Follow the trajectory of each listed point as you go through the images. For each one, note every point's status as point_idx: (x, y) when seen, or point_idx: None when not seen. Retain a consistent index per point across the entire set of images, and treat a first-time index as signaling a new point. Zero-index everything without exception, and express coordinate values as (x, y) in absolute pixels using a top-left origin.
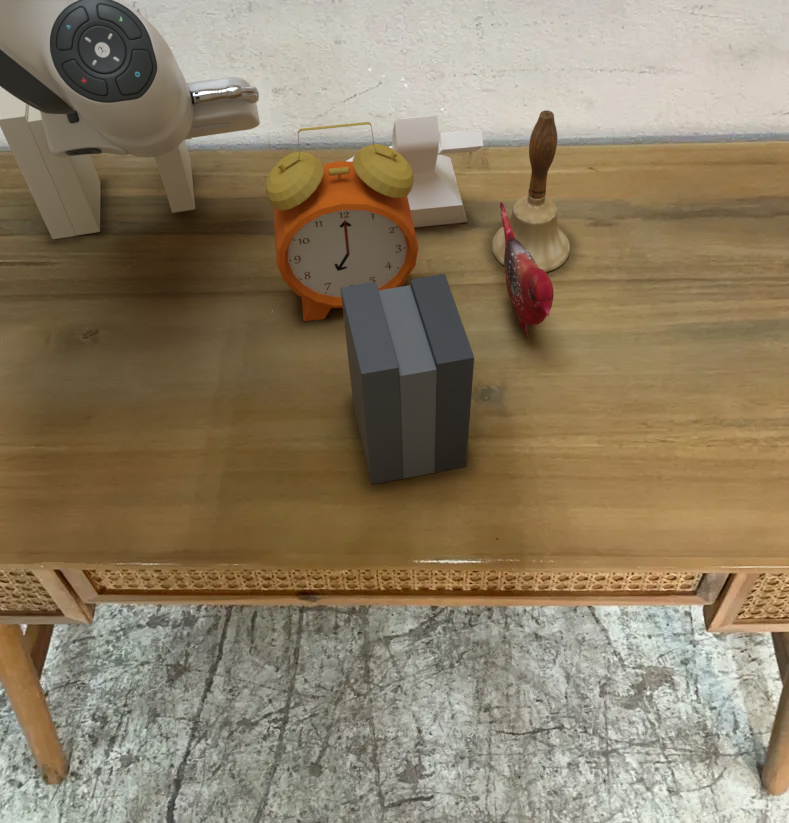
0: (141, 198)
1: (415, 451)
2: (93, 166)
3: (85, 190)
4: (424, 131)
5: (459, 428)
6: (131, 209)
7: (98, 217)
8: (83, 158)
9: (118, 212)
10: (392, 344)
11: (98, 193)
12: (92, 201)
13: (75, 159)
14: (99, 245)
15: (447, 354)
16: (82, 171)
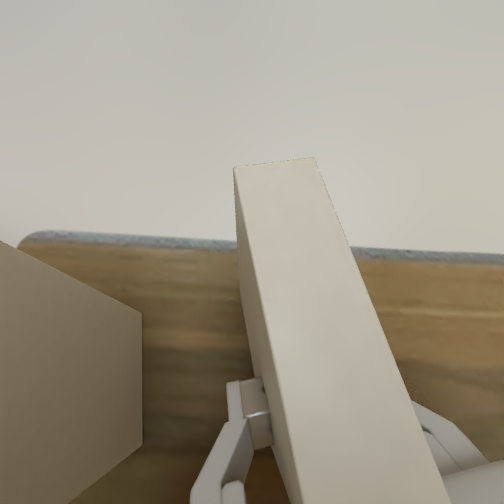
0: (203, 354)
1: None
2: (128, 314)
3: (104, 458)
4: None
5: None
6: (190, 381)
7: (139, 418)
8: (100, 360)
9: (170, 388)
10: None
11: (138, 352)
12: (125, 422)
13: (63, 456)
14: (142, 486)
15: None
16: (95, 417)
